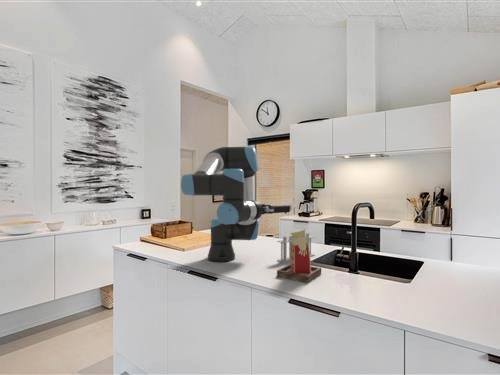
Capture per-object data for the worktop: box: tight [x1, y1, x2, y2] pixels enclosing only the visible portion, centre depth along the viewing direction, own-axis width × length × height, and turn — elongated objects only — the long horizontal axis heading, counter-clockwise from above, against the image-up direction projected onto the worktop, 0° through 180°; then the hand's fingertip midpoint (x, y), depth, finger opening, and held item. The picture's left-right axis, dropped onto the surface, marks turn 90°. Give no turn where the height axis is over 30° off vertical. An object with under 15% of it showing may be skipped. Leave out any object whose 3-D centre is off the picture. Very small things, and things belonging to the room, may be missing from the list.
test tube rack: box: [276, 232, 316, 264], centre depth 164 cm, size 25×4×13 cm, turn 126°
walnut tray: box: [276, 263, 322, 284], centre depth 135 cm, size 15×15×3 cm
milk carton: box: [289, 228, 312, 276], centre depth 135 cm, size 9×9×20 cm
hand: (277, 206), depth 130 cm, fingers open, 13 cm apart
